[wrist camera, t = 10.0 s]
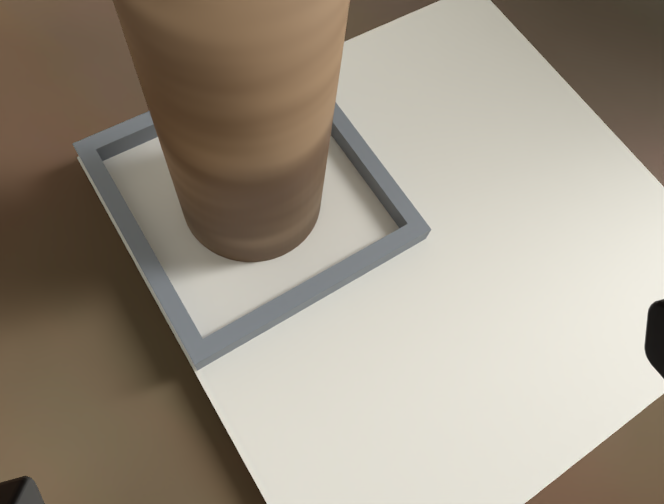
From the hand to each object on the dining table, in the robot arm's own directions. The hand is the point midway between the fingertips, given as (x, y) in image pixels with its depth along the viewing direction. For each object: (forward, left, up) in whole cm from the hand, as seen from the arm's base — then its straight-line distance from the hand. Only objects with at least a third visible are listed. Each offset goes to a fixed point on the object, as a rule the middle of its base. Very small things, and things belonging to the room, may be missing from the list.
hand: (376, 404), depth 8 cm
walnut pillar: (+9, -3, -10) cm, 14 cm away
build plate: (+5, -7, -11) cm, 14 cm away
